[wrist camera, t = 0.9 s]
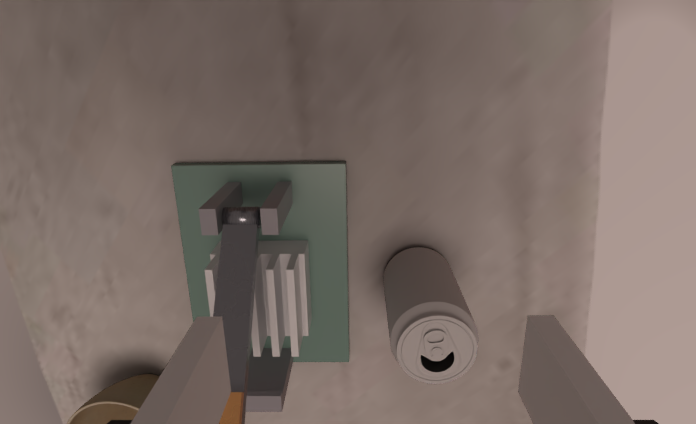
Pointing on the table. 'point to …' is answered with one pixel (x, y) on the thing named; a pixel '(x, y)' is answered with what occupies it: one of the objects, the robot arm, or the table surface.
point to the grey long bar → (237, 300)
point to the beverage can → (428, 317)
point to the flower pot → (116, 401)
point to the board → (274, 261)
